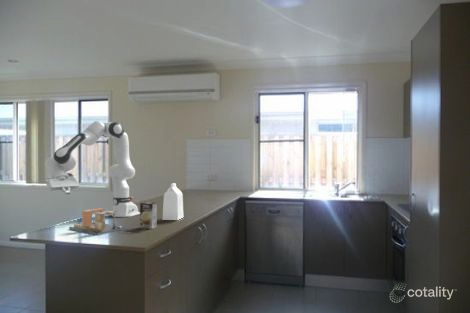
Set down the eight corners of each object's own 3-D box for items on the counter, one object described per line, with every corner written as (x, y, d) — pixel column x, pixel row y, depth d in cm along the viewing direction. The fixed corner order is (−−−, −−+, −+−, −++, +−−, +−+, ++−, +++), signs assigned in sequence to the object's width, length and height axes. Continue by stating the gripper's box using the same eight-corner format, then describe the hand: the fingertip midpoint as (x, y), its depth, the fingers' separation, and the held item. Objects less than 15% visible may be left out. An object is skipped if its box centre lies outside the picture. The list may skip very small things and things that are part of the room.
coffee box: (139, 228, 224) (139, 203, 223) (144, 226, 230) (144, 201, 230) (152, 229, 221) (152, 203, 221) (157, 226, 227) (157, 202, 227)
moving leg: (100, 223, 225) (100, 208, 225) (104, 224, 223) (104, 208, 223) (82, 227, 214) (82, 210, 214) (86, 228, 212) (86, 211, 212)
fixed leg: (91, 223, 230) (91, 207, 230) (117, 228, 216) (117, 211, 216) (73, 227, 219) (73, 209, 219) (99, 232, 205) (99, 214, 205)
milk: (177, 221, 247) (178, 184, 247) (162, 220, 249) (162, 184, 249) (183, 218, 259) (183, 183, 258) (169, 217, 261) (169, 182, 261)
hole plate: (97, 223, 235) (97, 220, 235) (124, 229, 220) (125, 225, 220) (69, 229, 218) (69, 225, 218) (97, 235, 203) (97, 231, 203)
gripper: (46, 175, 221) (54, 191, 216) (75, 174, 238) (84, 189, 233) (41, 181, 223) (50, 198, 218) (71, 180, 241) (79, 195, 236)
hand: (68, 193), depth 226 cm, fingers closed
